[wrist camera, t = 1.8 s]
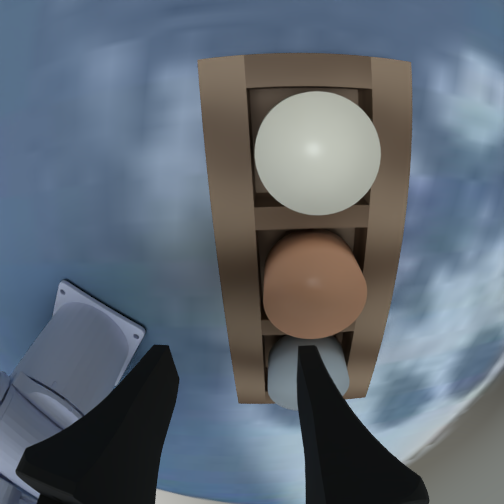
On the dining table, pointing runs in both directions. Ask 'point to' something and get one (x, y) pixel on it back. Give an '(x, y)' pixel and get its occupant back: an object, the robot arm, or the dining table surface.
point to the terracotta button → (312, 284)
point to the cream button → (317, 153)
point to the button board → (286, 220)
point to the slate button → (285, 367)
